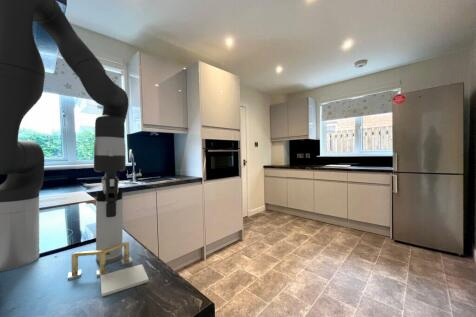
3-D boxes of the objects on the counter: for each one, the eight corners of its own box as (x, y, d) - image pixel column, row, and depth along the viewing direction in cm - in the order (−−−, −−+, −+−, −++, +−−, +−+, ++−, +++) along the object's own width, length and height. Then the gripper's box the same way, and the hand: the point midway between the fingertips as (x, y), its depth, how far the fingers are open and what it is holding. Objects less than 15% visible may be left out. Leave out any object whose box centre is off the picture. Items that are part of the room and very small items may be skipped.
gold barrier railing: (66, 285, 45) (66, 260, 45) (68, 275, 49) (68, 252, 49) (133, 267, 53) (133, 245, 53) (130, 259, 57) (130, 239, 57)
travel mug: (111, 265, 54) (111, 189, 54) (90, 263, 55) (90, 188, 55) (128, 254, 60) (128, 186, 60) (109, 252, 61) (109, 185, 61)
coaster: (101, 296, 42) (101, 294, 42) (100, 278, 48) (100, 275, 48) (148, 281, 47) (148, 279, 47) (141, 266, 54) (141, 264, 54)
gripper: (93, 154, 61) (93, 210, 61) (93, 153, 49) (94, 223, 50) (122, 154, 66) (122, 206, 66) (128, 154, 54) (128, 217, 54)
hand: (110, 213), depth 58 cm, fingers closed on travel mug, 6 cm apart
